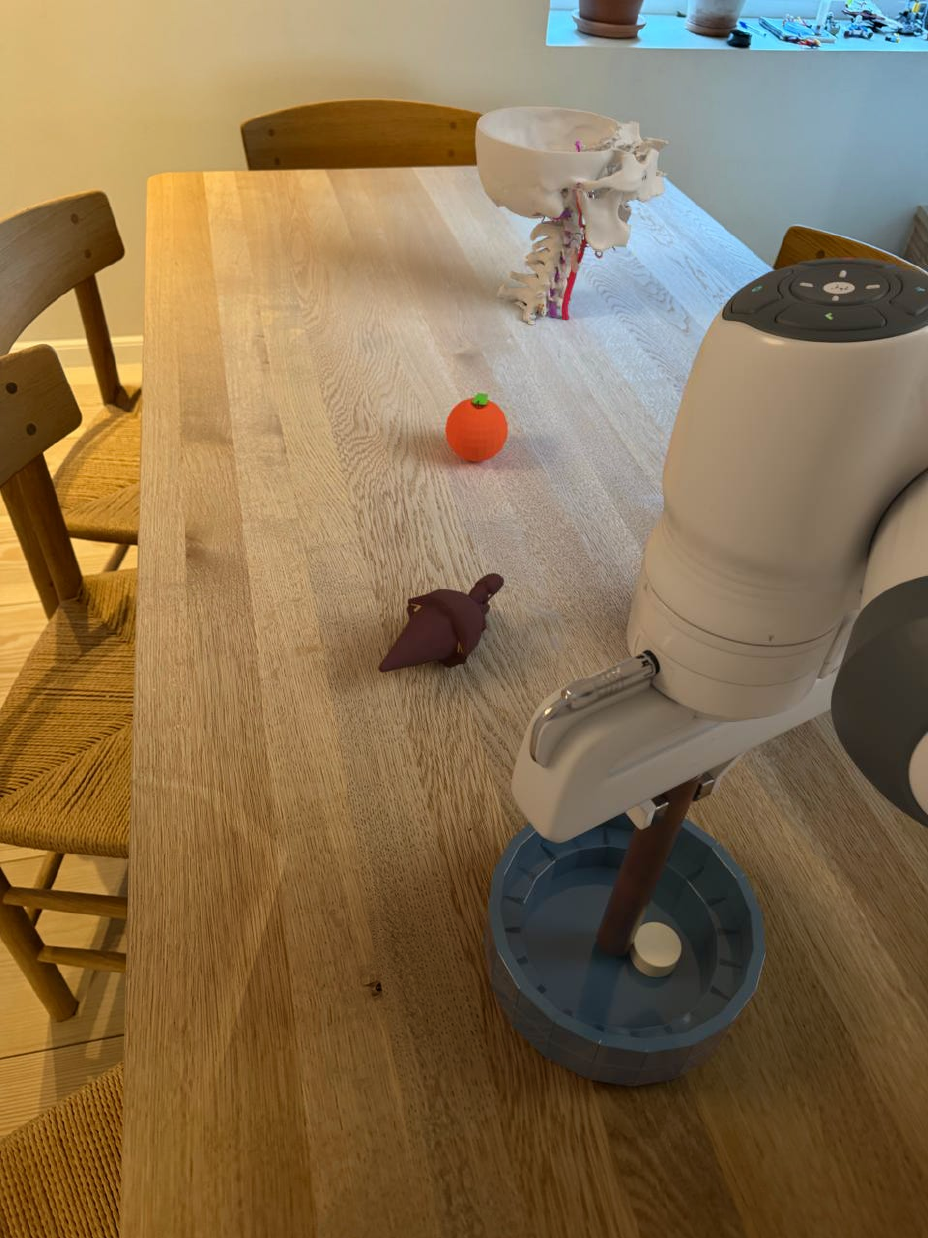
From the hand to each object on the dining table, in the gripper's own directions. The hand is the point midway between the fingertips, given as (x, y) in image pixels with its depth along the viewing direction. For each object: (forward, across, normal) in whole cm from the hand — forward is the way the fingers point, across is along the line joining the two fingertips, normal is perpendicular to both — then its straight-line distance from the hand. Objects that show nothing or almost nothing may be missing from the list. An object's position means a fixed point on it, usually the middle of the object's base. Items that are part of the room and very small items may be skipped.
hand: (669, 801), depth 53 cm
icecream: (+18, +3, +31) cm, 36 cm away
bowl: (+18, 0, 0) cm, 18 cm away
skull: (+18, +51, +84) cm, 100 cm away
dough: (+17, +2, -1) cm, 18 cm away
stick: (+16, 0, 0) cm, 17 cm away
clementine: (+18, +22, +56) cm, 63 cm away
